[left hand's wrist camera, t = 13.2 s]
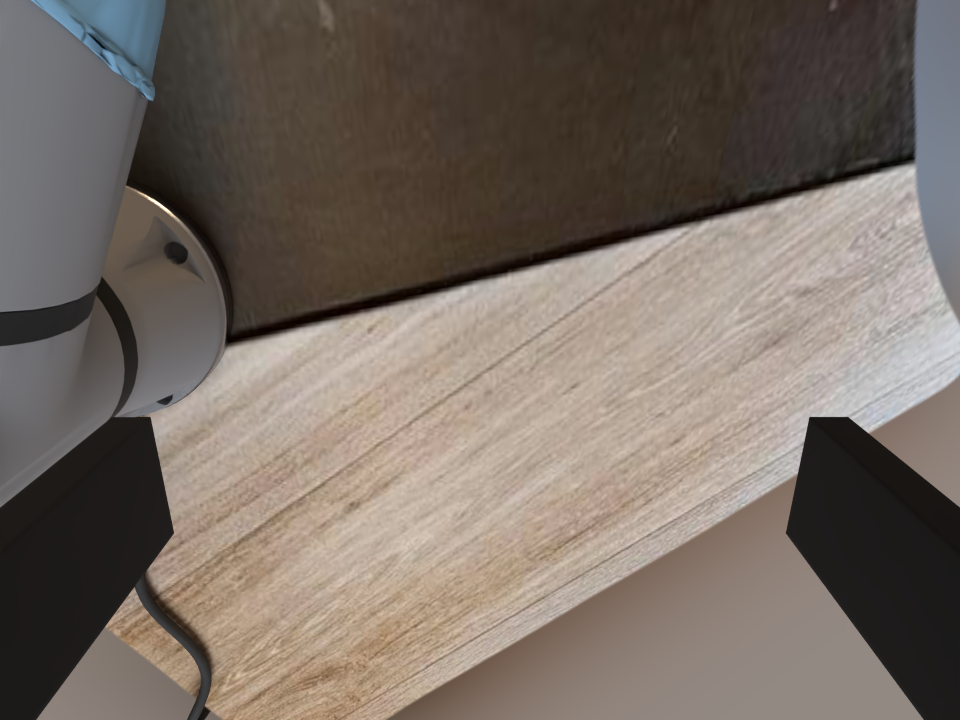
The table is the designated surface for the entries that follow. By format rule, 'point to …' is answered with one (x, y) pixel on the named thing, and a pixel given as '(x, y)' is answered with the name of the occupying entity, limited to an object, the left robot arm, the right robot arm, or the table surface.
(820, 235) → the table surface
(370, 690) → the table surface
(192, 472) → the table surface
